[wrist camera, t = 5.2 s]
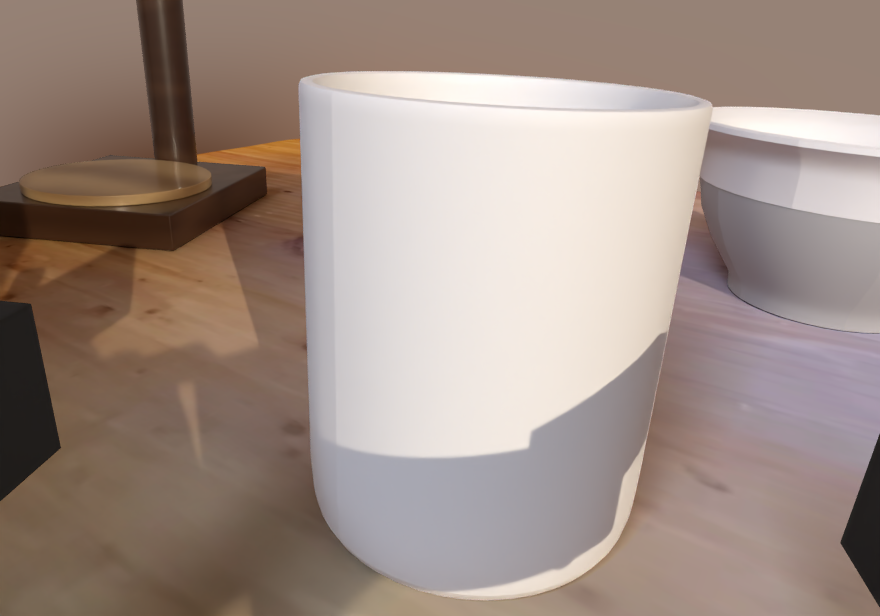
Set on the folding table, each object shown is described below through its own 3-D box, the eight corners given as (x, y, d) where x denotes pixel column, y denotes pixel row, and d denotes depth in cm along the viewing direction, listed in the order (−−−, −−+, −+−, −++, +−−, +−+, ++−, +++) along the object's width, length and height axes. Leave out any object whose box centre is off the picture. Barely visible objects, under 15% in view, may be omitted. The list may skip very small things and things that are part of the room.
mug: (530, 357, 26) (563, 70, 22) (692, 594, 15) (816, 117, 11) (309, 367, 25) (299, 59, 20) (314, 640, 14) (297, 100, 10)
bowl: (1039, 311, 34) (1114, 140, 31) (967, 413, 24) (1066, 176, 20) (736, 234, 45) (767, 102, 41) (597, 283, 34) (623, 113, 31)
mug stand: (175, 251, 36) (111, -329, 26) (-33, 233, 37) (-166, -330, 28) (270, 193, 49) (249, -209, 40) (114, 180, 50) (58, -213, 41)
